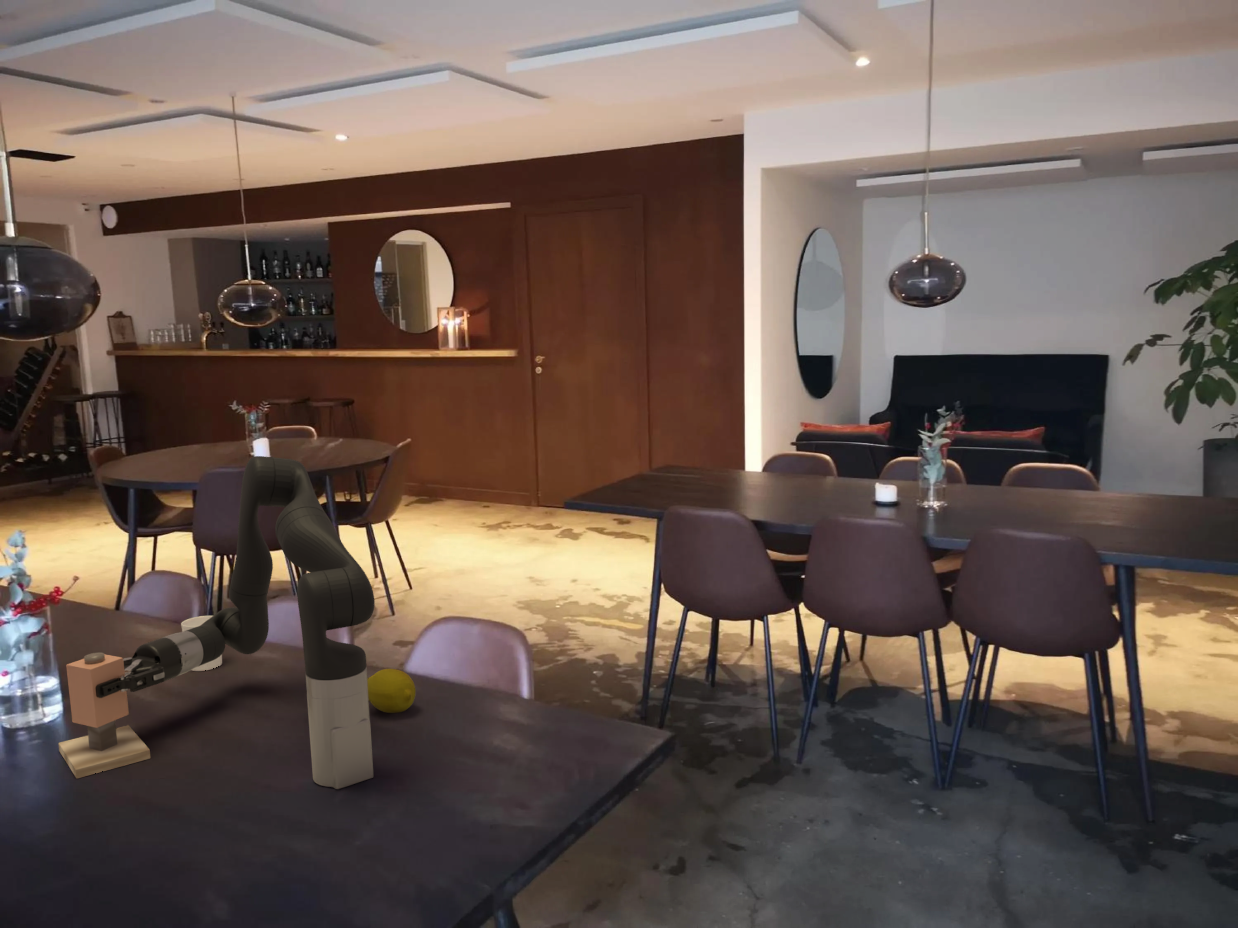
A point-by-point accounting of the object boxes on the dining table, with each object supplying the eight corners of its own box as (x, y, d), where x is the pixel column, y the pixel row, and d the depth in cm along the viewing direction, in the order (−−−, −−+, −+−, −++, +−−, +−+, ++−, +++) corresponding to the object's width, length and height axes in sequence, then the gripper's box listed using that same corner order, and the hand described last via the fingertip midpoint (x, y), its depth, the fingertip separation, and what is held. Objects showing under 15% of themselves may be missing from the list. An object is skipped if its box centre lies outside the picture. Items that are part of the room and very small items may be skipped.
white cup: (231, 660, 211) (228, 615, 210) (213, 672, 204) (209, 626, 202) (197, 659, 212) (193, 615, 211) (177, 672, 204) (173, 626, 203)
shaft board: (150, 758, 162) (145, 709, 161) (76, 778, 155) (71, 727, 154) (129, 733, 173) (124, 687, 172) (59, 751, 166) (54, 703, 165)
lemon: (426, 711, 179) (424, 670, 178) (390, 724, 174) (388, 682, 173) (392, 697, 187) (390, 657, 186) (357, 710, 181) (354, 668, 180)
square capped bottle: (128, 714, 165) (122, 651, 163) (96, 727, 160) (89, 663, 158) (104, 708, 167) (98, 647, 166) (72, 722, 162) (65, 658, 160)
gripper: (139, 632, 178) (52, 661, 163) (196, 641, 172) (111, 673, 157) (143, 671, 179) (57, 704, 164) (199, 682, 173) (115, 717, 158)
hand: (84, 689), depth 160 cm, fingers closed on square capped bottle, 6 cm apart
